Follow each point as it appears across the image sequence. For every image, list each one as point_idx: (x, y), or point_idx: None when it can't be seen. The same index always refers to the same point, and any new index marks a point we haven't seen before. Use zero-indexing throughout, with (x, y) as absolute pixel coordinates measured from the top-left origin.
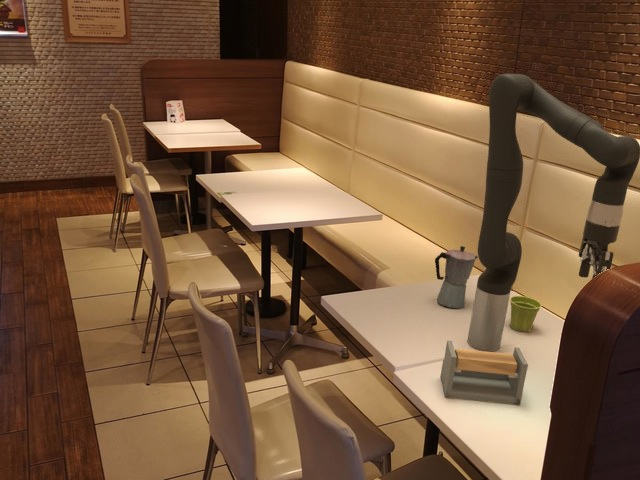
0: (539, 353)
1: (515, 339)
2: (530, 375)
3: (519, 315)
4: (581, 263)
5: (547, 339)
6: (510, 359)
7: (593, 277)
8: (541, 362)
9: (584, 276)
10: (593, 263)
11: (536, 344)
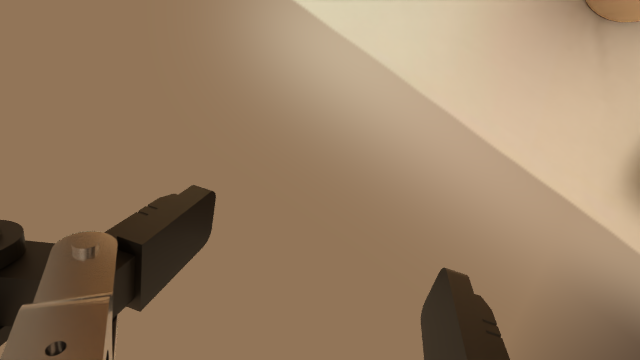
0: (526, 128)
1: (632, 100)
2: (419, 34)
3: None
4: (481, 357)
5: (596, 198)
6: None
7: (133, 226)
8: (478, 105)
9: (429, 296)
10: (23, 313)
11: (578, 149)
